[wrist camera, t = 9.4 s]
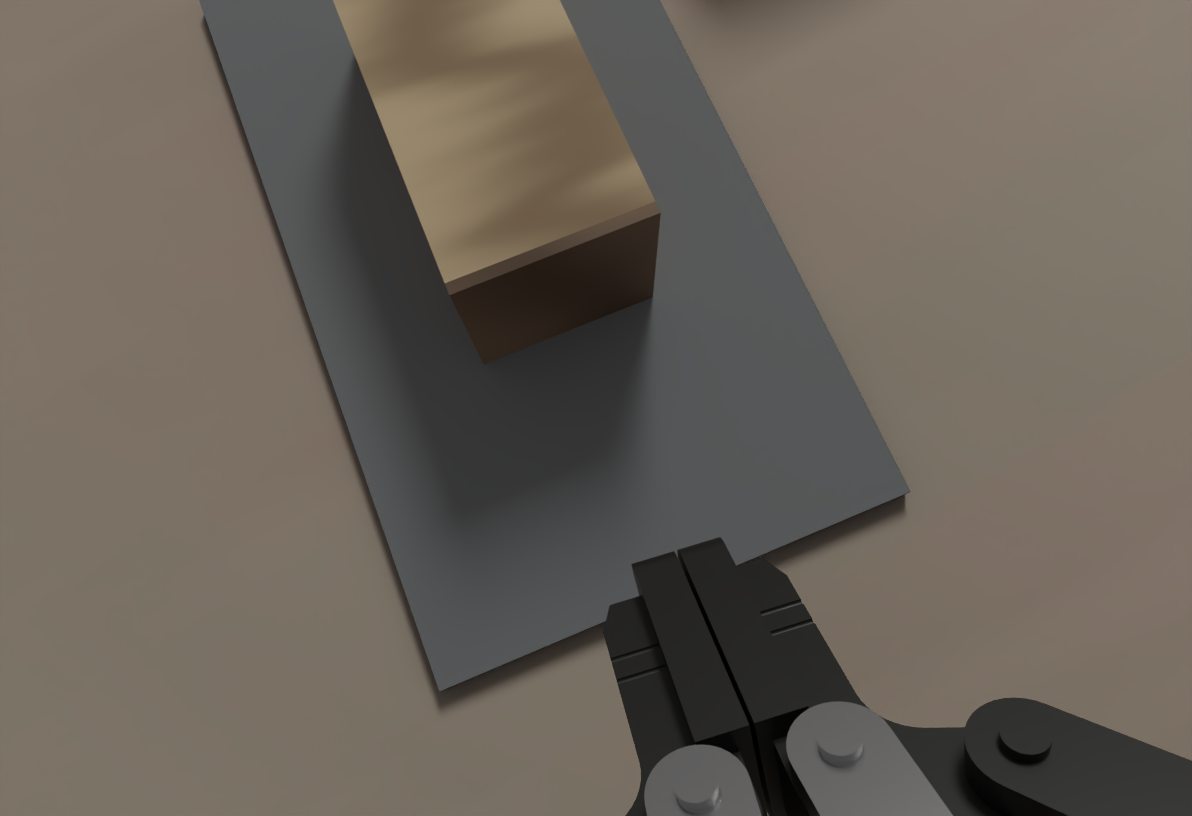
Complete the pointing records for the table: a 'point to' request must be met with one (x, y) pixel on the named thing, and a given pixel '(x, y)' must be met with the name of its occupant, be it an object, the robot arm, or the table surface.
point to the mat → (553, 352)
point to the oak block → (509, 163)
